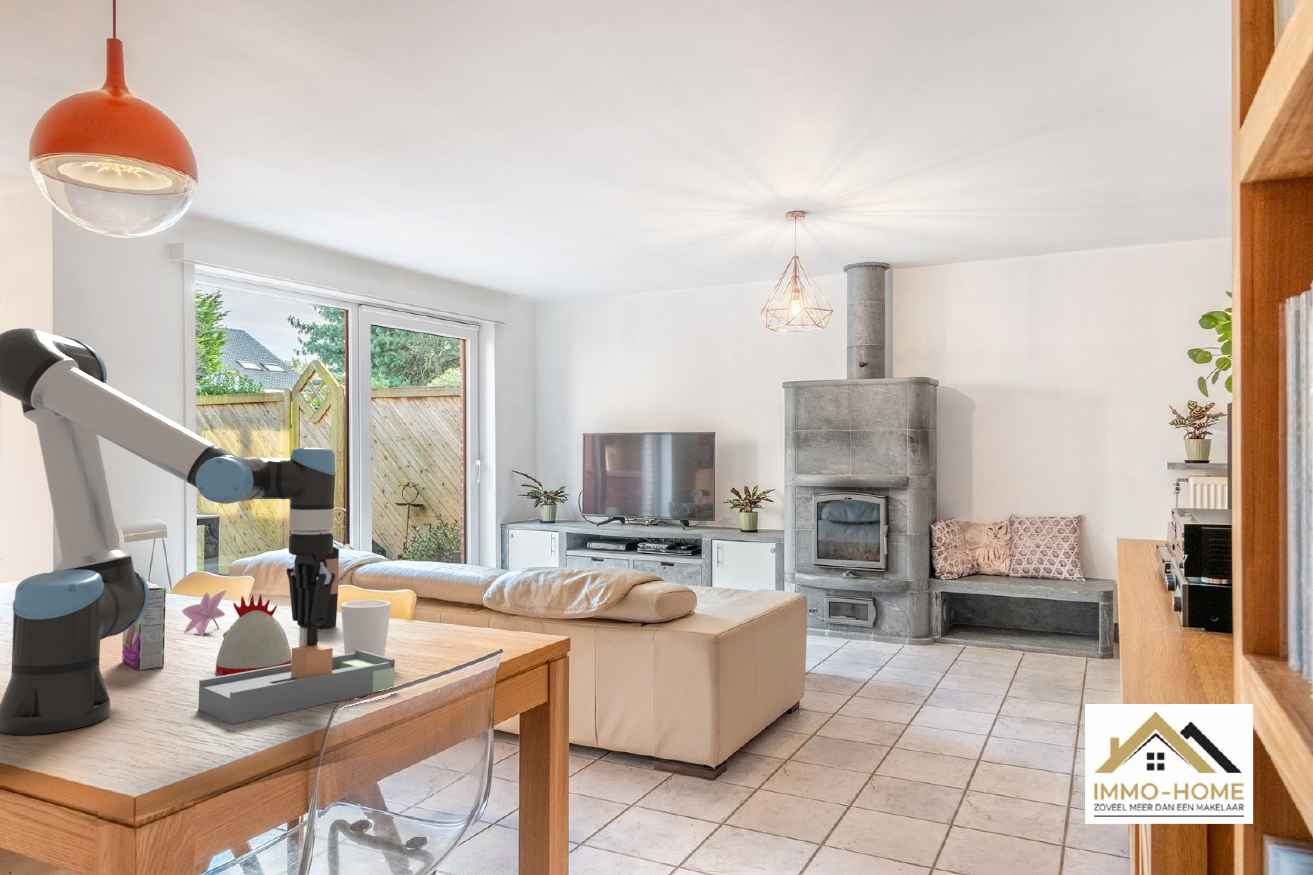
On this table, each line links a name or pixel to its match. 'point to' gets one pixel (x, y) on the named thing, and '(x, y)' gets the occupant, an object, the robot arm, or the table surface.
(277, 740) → the table surface
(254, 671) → the box
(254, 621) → the kitchen timer
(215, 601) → the lily
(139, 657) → the candy bar box
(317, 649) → the block
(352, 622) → the cup
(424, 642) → the table surface
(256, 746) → the table surface
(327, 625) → the travel mug
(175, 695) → the table surface
